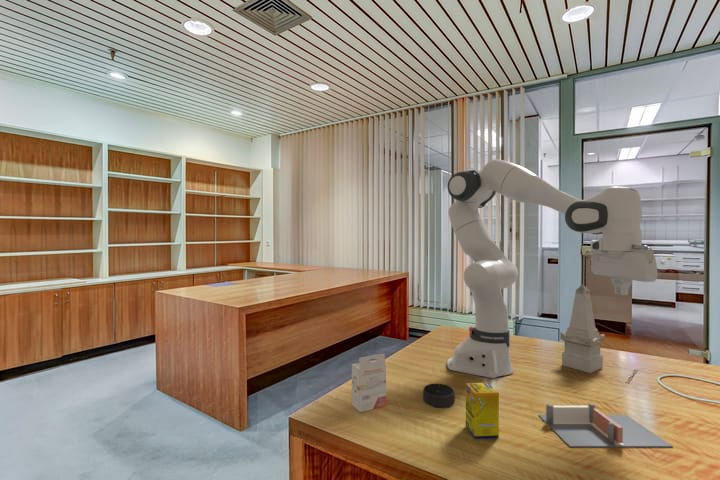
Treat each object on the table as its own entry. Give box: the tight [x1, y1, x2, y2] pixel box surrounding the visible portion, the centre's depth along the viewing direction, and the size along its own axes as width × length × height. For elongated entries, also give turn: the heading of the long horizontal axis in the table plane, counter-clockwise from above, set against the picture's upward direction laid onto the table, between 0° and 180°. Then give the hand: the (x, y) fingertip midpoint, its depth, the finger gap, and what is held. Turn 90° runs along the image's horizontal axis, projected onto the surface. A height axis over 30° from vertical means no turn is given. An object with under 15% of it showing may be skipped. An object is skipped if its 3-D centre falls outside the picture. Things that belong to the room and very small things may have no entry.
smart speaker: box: [422, 383, 456, 409], centre depth 105 cm, size 9×9×4 cm
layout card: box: [538, 414, 674, 448], centre depth 89 cm, size 23×14×1 cm, turn 90°
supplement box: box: [465, 382, 500, 441], centre depth 88 cm, size 6×6×11 cm
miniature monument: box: [559, 284, 606, 374], centre depth 133 cm, size 10×10×30 cm
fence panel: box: [593, 408, 623, 443], centre depth 87 cm, size 9×1×4 cm, turn 0°
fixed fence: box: [545, 402, 614, 444], centre depth 88 cm, size 12×10×5 cm
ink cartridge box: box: [351, 353, 387, 413], centre depth 102 cm, size 9×5×15 cm, turn 117°
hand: (621, 294), depth 102 cm, fingers closed
